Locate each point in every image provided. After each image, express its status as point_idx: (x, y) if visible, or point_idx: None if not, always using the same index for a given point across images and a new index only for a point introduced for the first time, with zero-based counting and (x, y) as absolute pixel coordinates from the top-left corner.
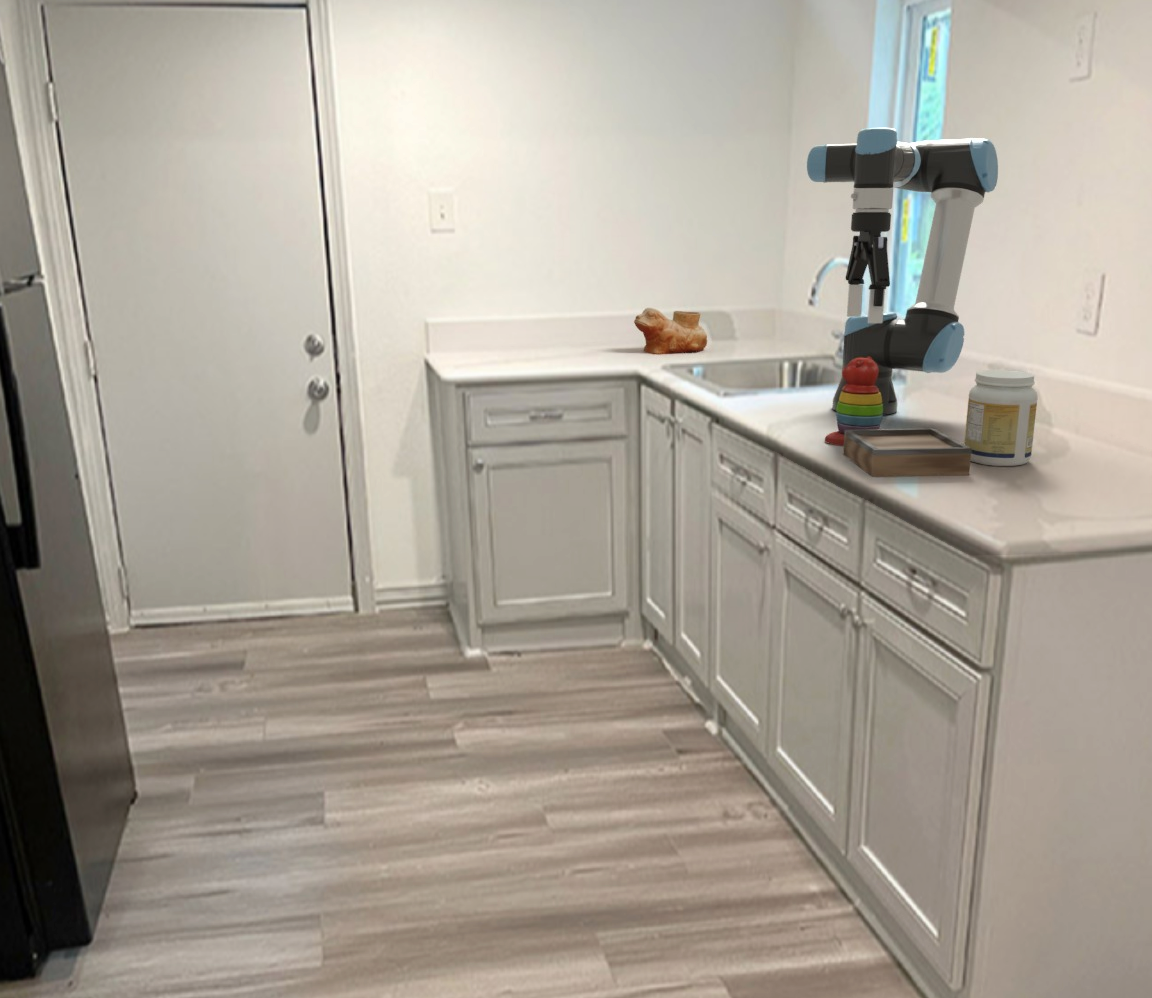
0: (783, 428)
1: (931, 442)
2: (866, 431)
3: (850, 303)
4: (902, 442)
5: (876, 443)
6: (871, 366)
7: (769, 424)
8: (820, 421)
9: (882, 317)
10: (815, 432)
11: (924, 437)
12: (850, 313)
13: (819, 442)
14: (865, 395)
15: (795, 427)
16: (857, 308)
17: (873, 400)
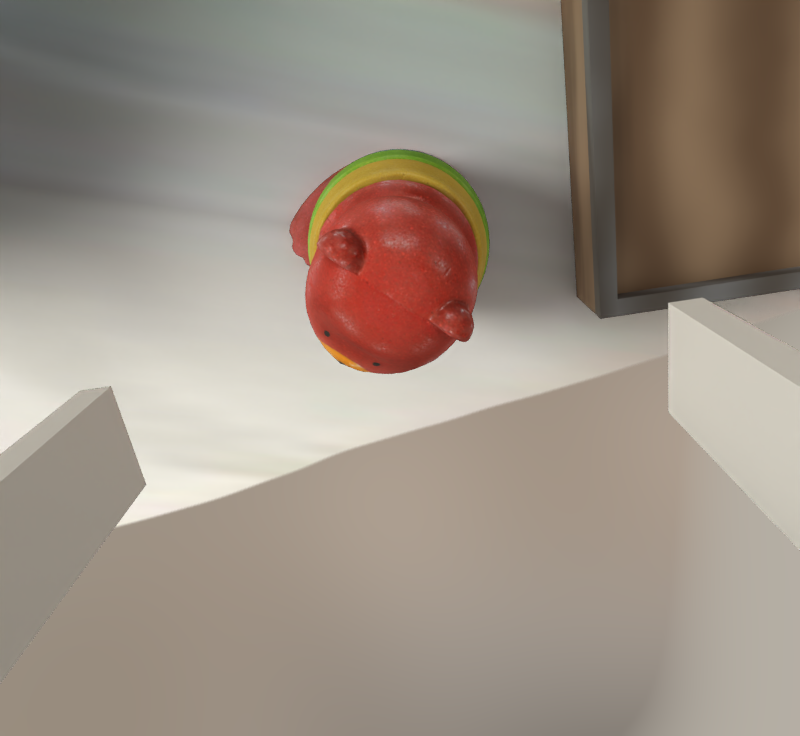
0: (213, 429)
1: (751, 12)
2: (615, 245)
3: (90, 540)
4: (739, 131)
5: (743, 228)
6: (462, 253)
7: (159, 463)
8: (65, 305)
9: (725, 313)
10: (258, 341)
11: (658, 20)
12: (128, 481)
13: None
14: (482, 252)
15: (189, 393)
16: (86, 450)
17: (477, 212)
